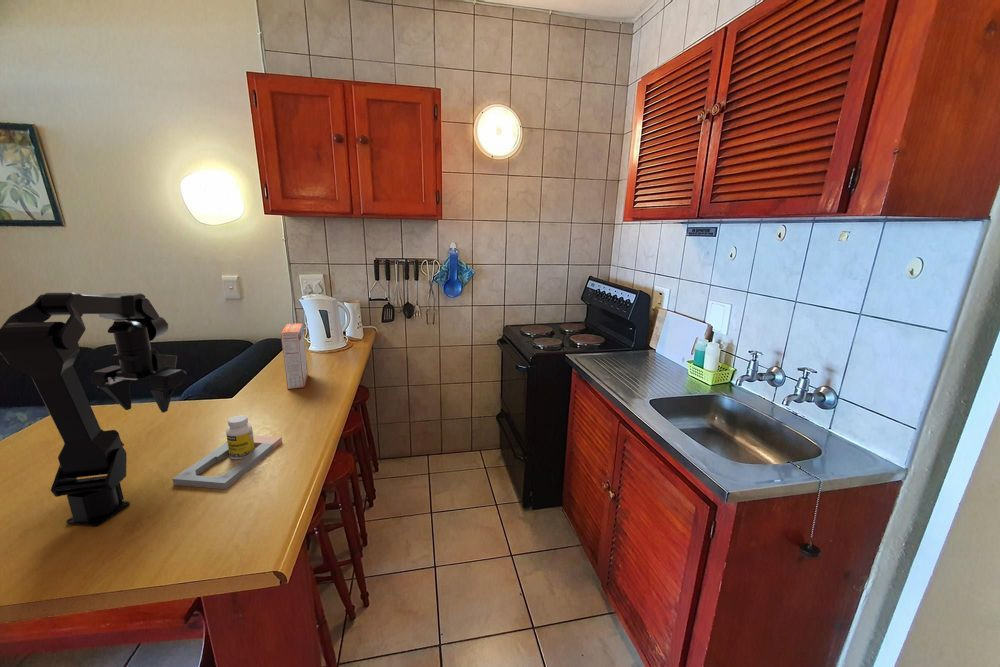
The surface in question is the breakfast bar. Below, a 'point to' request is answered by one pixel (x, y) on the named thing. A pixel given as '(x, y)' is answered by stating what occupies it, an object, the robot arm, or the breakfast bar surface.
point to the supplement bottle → (239, 437)
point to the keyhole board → (225, 480)
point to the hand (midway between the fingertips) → (146, 410)
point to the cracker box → (294, 355)
